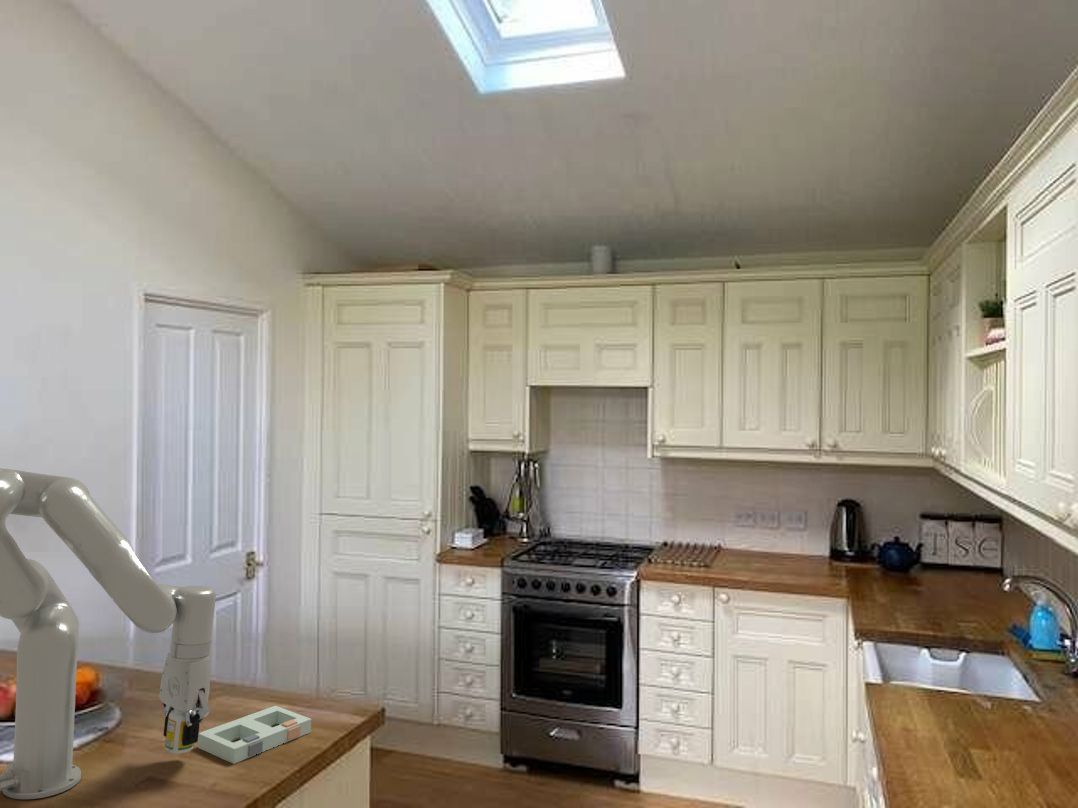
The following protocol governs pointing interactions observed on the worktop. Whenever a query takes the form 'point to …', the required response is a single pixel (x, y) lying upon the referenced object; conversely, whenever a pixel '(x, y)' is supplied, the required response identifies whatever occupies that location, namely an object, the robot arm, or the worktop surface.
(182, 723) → the supplement bottle
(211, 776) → the worktop surface
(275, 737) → the socket board
